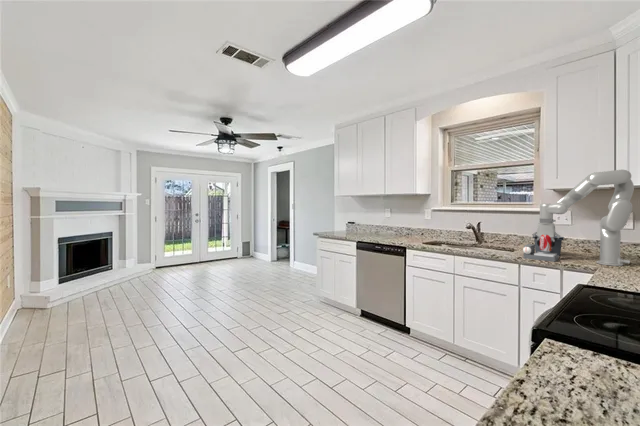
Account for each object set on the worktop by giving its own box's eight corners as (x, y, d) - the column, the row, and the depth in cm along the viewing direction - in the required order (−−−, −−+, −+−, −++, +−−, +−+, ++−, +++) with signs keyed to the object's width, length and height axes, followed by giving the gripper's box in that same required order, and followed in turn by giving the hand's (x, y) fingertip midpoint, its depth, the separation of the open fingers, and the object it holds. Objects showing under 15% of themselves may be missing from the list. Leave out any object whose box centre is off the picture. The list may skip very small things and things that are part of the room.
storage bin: (529, 252, 247) (530, 234, 246) (550, 252, 245) (550, 234, 245) (546, 256, 225) (547, 237, 225) (569, 257, 224) (569, 237, 223)
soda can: (551, 252, 211) (551, 234, 211) (538, 251, 216) (539, 234, 216) (552, 250, 217) (552, 233, 216) (540, 249, 221) (540, 233, 221)
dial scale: (558, 259, 216) (558, 246, 216) (554, 261, 207) (554, 248, 207) (527, 255, 230) (527, 243, 230) (522, 258, 221) (522, 245, 220)
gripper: (562, 221, 212) (562, 247, 213) (532, 220, 225) (532, 244, 225) (560, 222, 207) (560, 248, 207) (530, 221, 219) (529, 245, 220)
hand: (545, 246), depth 216 cm, fingers closed on soda can, 7 cm apart
